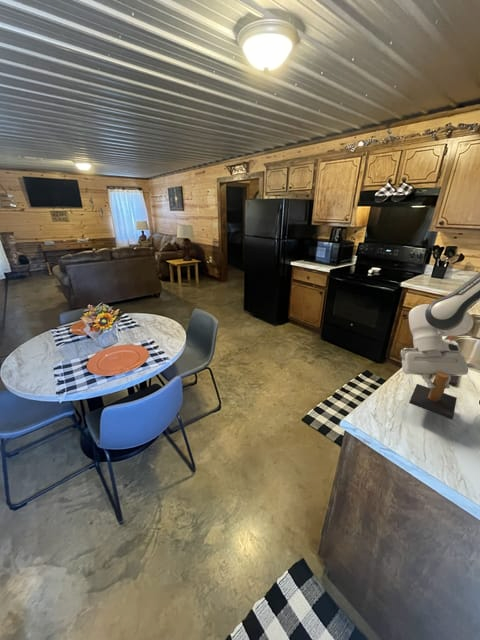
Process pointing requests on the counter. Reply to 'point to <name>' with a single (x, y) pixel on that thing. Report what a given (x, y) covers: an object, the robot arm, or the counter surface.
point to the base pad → (453, 380)
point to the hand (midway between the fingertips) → (439, 388)
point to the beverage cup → (451, 341)
